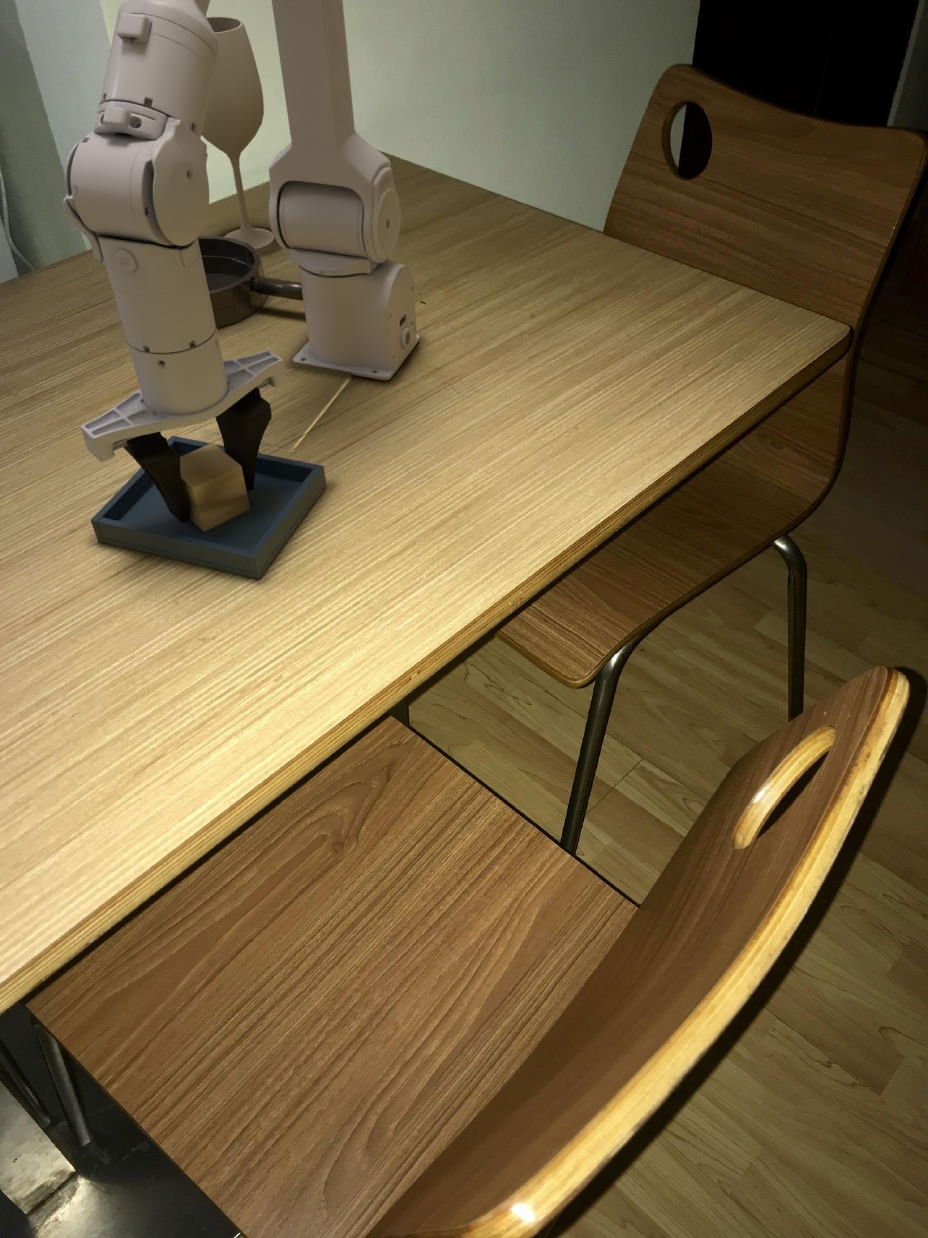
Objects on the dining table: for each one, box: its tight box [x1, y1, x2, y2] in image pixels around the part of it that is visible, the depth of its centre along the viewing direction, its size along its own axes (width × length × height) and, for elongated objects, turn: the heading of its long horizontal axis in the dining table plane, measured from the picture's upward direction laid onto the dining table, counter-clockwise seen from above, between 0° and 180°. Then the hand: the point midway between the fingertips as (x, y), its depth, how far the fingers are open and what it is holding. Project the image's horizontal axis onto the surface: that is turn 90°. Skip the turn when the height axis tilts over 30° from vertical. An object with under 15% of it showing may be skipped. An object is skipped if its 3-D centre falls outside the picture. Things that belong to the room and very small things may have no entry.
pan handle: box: [252, 276, 304, 302], centre depth 94 cm, size 8×2×2 cm, turn 71°
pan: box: [197, 235, 267, 329], centre depth 97 cm, size 13×13×4 cm
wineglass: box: [201, 16, 275, 250], centre depth 101 cm, size 8×8×21 cm
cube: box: [180, 442, 250, 532], centre depth 73 cm, size 4×4×4 cm
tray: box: [90, 435, 327, 580], centre depth 74 cm, size 13×11×2 cm
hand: (212, 499), depth 74 cm, fingers open, 5 cm apart
